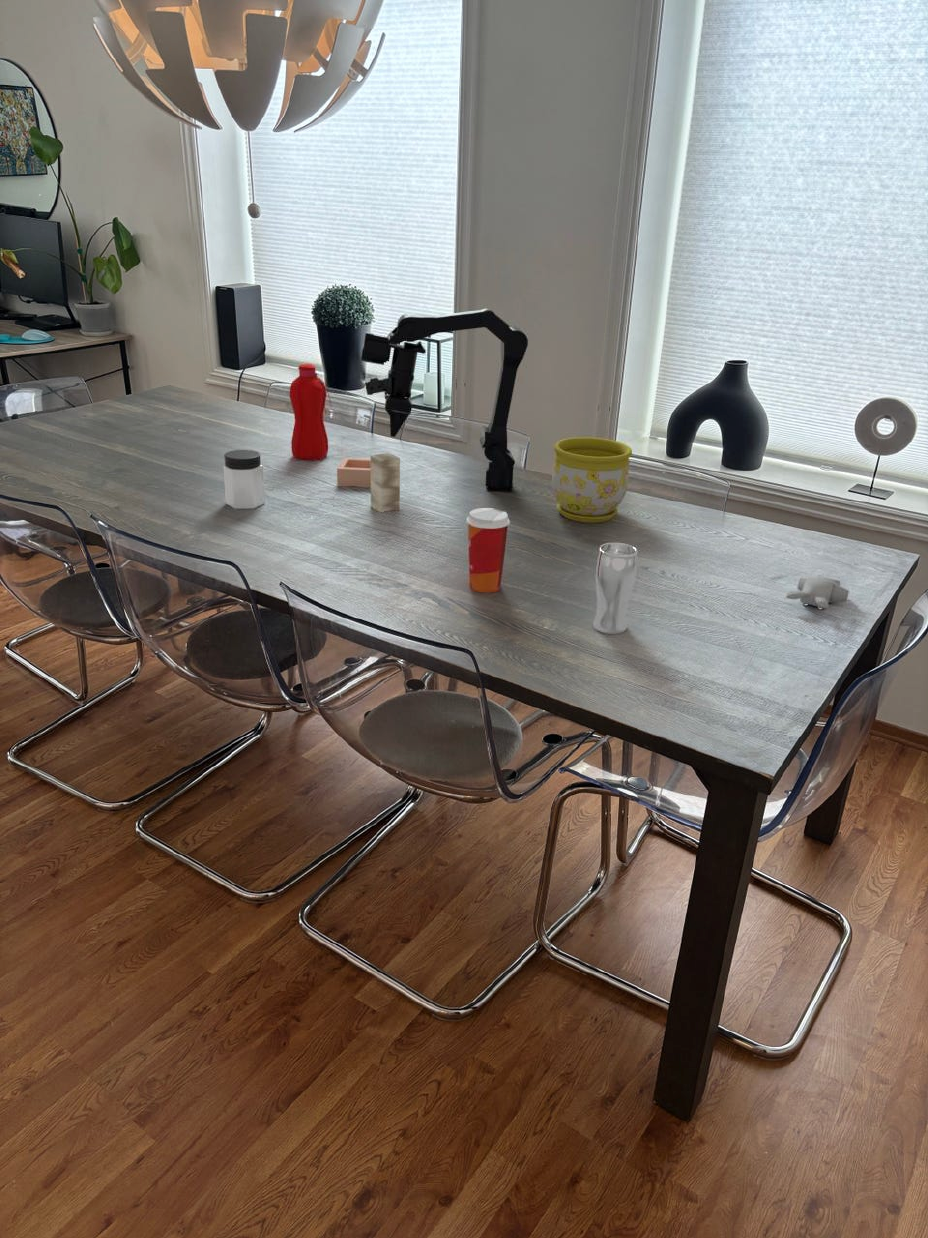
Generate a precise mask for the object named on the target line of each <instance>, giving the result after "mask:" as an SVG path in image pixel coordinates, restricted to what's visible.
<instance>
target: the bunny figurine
mask: <svg viewBox="0 0 928 1238" xmlns="http://www.w3.org/2000/svg"><path fill="white" fill-rule="evenodd" d="M849 592H850V590H848V589H847V588H844V587H842V586H841V581H840V580H839V579H838V580H837V579H834V578H829V577H826V576H821V575H817V576H816V577H808V578H806V577H805V578H804V577H803V578H802V577H801V578H799V580H798V585H797V590H791V591H789V592H788V594H787V595H786V596H785V598H787V599H790V600H797V599H800V603H802V604H803V603H804V604H809V605H811V606H814V607H816V608H817V607H819V608H823V609H825V610H826V609H829V608H830V607H829V601H830V603H846V602H847V600H848V597H849ZM804 604H803V605H804Z"/></svg>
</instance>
